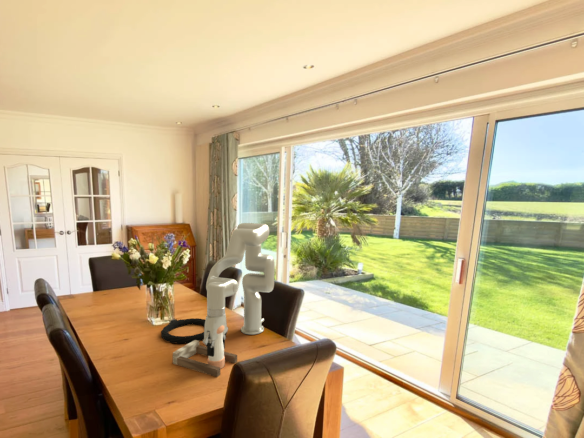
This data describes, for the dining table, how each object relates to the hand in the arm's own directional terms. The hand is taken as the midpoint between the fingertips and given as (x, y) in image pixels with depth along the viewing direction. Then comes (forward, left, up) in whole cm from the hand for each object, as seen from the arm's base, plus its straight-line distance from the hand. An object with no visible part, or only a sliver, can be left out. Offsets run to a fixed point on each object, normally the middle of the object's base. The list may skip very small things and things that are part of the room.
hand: (216, 351), depth 137 cm
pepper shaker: (0, 0, -6) cm, 6 cm away
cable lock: (-21, -36, -7) cm, 42 cm away
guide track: (0, -6, -6) cm, 9 cm away
